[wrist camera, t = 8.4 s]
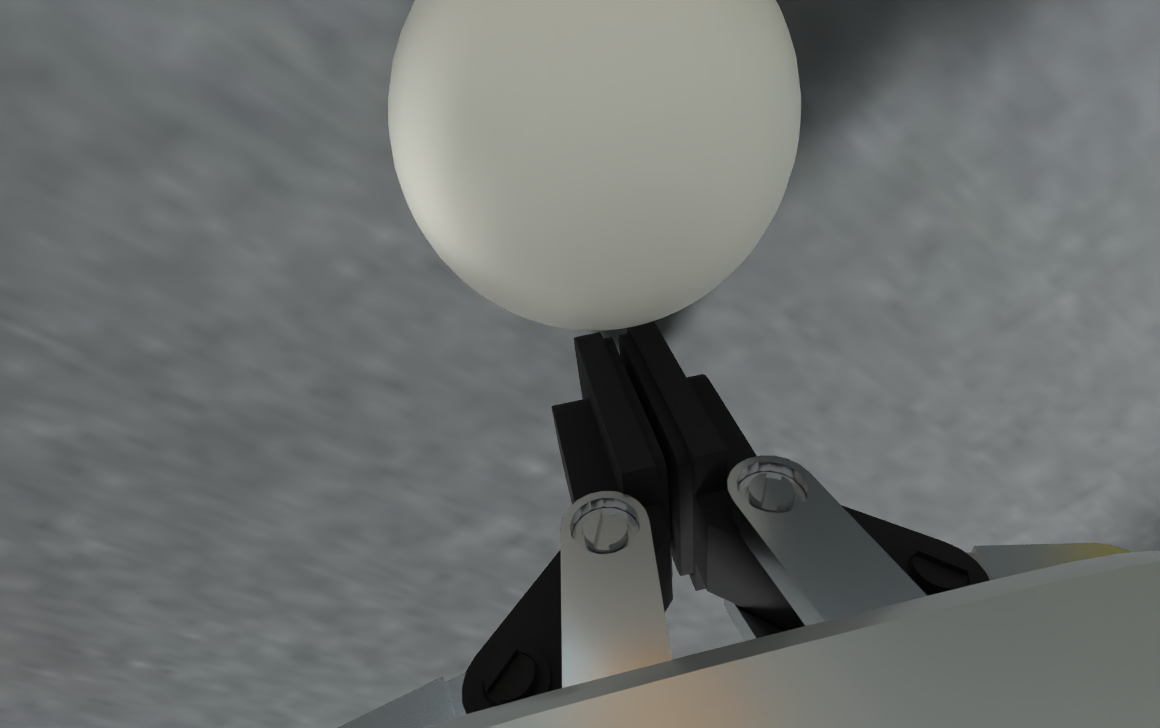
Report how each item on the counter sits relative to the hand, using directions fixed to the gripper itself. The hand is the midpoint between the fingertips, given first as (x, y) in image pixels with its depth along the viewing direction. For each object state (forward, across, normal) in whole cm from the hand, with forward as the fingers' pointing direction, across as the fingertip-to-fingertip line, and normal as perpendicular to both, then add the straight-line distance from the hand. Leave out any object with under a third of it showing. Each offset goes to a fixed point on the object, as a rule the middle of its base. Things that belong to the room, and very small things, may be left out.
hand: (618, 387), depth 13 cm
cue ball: (-1, 0, -6) cm, 6 cm away
